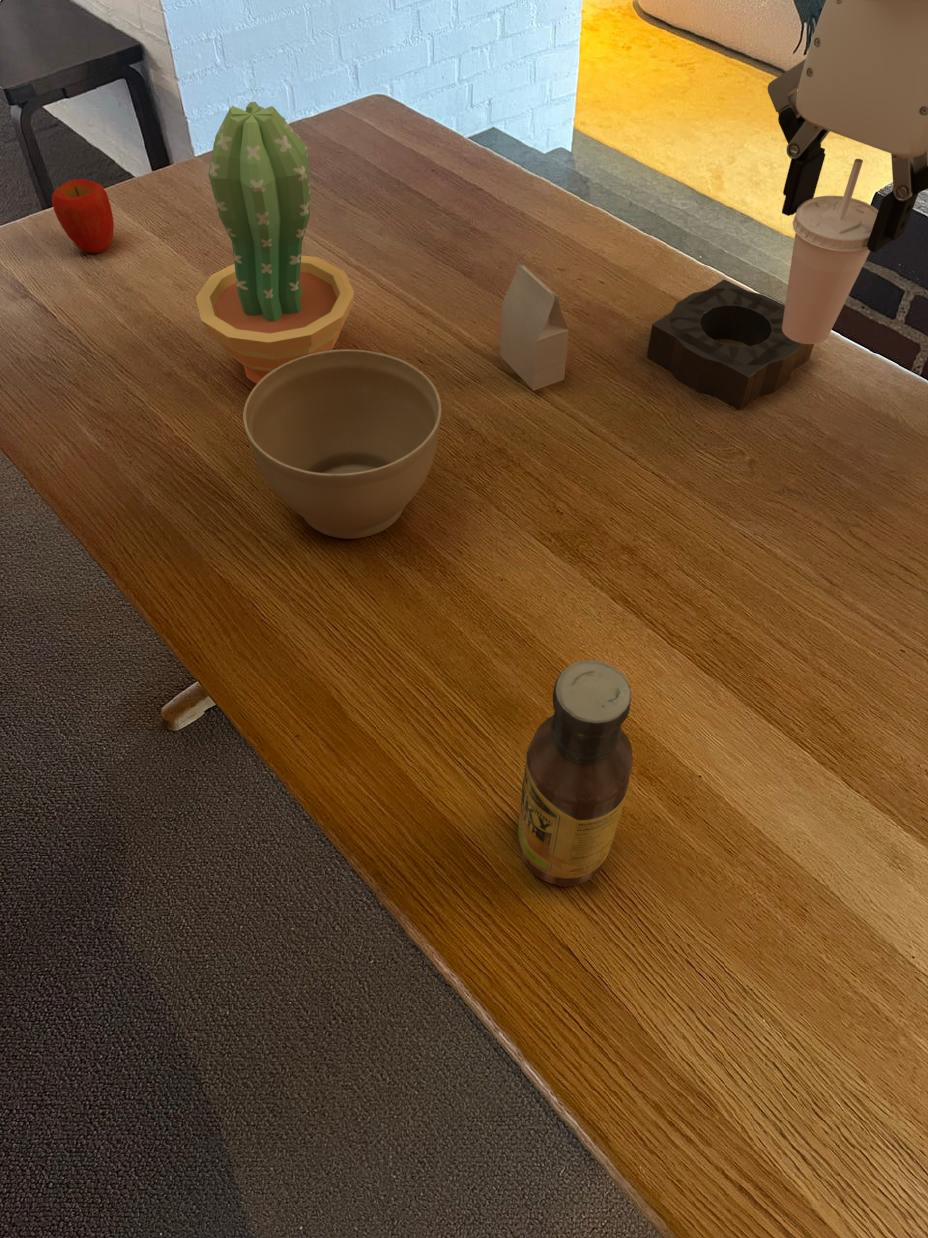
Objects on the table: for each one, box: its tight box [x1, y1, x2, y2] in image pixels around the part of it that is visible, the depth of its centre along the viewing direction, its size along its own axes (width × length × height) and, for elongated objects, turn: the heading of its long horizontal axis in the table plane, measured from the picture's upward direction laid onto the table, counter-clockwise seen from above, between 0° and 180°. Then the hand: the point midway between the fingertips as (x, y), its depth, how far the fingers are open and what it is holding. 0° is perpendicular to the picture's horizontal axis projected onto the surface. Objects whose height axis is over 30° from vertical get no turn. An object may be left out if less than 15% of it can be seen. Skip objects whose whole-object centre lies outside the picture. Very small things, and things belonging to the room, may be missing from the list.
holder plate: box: [646, 278, 815, 411], centre depth 99 cm, size 13×13×4 cm
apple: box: [51, 178, 115, 254], centre depth 111 cm, size 6×6×8 cm
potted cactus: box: [195, 101, 355, 385], centre depth 90 cm, size 15×15×25 cm
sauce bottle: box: [517, 659, 634, 888], centre depth 58 cm, size 6×6×20 cm
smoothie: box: [782, 158, 879, 345], centre depth 72 cm, size 6×6×14 cm
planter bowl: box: [242, 348, 443, 540], centre depth 82 cm, size 16×16×11 cm
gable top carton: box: [499, 263, 570, 392], centre depth 95 cm, size 4×7×10 cm, turn 29°
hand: (838, 223), depth 70 cm, fingers closed on smoothie, 6 cm apart
